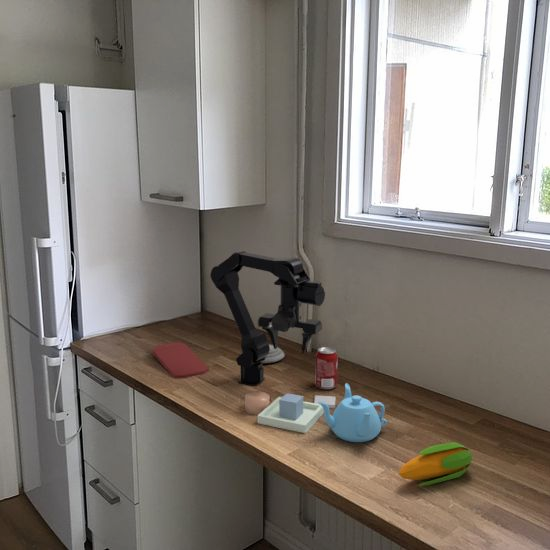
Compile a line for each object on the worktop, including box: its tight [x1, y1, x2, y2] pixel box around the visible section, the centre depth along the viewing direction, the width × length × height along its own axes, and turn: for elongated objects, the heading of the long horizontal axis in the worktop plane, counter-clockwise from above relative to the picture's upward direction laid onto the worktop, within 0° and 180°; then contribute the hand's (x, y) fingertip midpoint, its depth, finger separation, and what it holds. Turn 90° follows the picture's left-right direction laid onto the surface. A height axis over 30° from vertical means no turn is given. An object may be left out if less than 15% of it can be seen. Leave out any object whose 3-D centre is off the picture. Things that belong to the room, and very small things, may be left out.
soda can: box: [314, 346, 339, 391], centre depth 193 cm, size 7×7×12 cm
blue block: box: [279, 393, 304, 420], centre depth 172 cm, size 5×5×5 cm
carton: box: [152, 341, 209, 379], centre depth 213 cm, size 12×5×25 cm
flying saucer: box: [262, 343, 285, 364], centre depth 219 cm, size 15×15×6 cm
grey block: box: [313, 395, 337, 409], centre depth 182 cm, size 6×6×2 cm
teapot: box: [317, 382, 387, 443], centre depth 162 cm, size 15×15×10 cm
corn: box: [398, 441, 473, 487], centre depth 141 cm, size 7×8×20 cm
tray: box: [257, 396, 324, 434], centre depth 172 cm, size 14×14×2 cm
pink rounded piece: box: [244, 391, 271, 416], centre depth 177 cm, size 7×7×4 cm
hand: (289, 350), depth 188 cm, fingers open, 9 cm apart
